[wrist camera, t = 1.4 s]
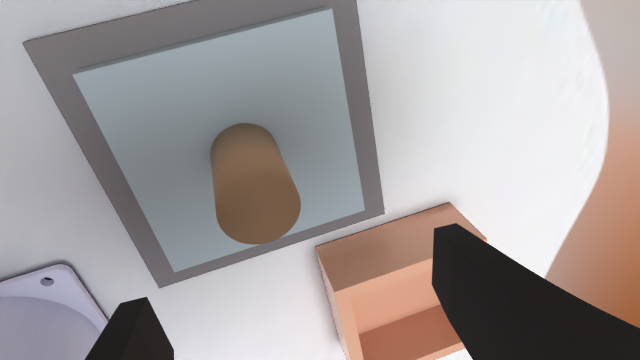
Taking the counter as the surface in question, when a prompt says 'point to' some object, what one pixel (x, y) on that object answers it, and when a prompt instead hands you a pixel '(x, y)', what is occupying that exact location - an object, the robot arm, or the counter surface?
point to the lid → (232, 135)
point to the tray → (390, 289)
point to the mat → (177, 27)
